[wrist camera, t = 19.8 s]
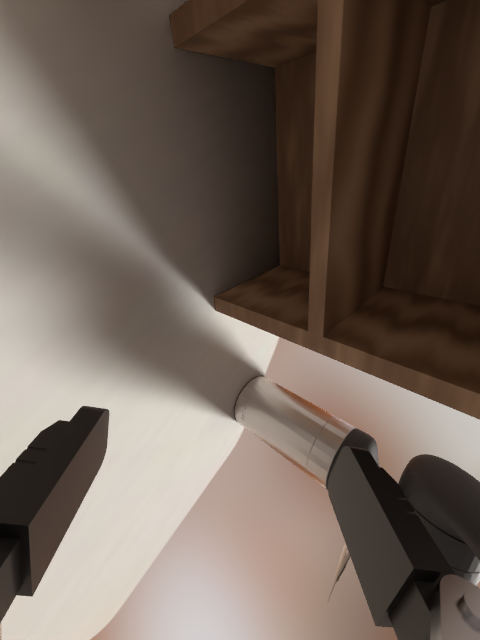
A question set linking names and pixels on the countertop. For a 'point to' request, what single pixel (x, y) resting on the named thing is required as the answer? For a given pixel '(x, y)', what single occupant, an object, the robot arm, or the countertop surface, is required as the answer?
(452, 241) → the walnut shelf
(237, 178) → the countertop surface
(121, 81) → the countertop surface
